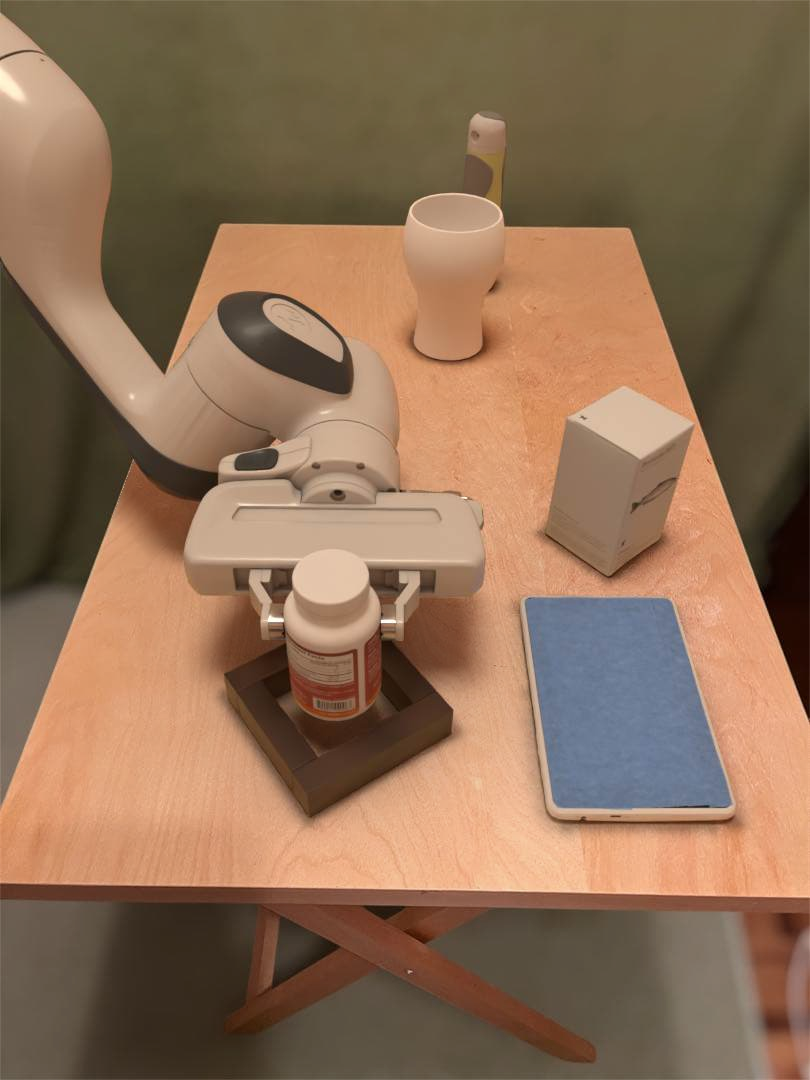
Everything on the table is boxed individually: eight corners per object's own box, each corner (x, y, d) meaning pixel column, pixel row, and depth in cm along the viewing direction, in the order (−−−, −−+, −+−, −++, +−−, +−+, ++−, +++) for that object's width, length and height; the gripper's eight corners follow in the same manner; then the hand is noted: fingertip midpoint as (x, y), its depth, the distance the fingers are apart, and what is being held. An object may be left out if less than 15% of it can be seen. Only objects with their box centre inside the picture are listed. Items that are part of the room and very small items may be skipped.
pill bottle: (345, 639, 66) (342, 525, 58) (399, 693, 62) (403, 580, 55) (273, 681, 63) (259, 568, 55) (325, 741, 59) (318, 628, 52)
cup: (410, 313, 107) (414, 185, 96) (501, 324, 105) (514, 196, 95) (391, 361, 99) (393, 228, 89) (488, 374, 98) (501, 240, 87)
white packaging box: (608, 580, 76) (639, 460, 67) (542, 533, 80) (563, 414, 71) (663, 541, 79) (698, 422, 71) (597, 498, 83) (623, 380, 75)
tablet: (737, 823, 60) (742, 813, 59) (545, 823, 59) (548, 812, 58) (671, 605, 74) (674, 594, 73) (516, 604, 73) (517, 592, 73)
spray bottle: (447, 283, 112) (457, 112, 99) (474, 271, 115) (488, 103, 101) (475, 298, 110) (489, 125, 96) (503, 285, 112) (520, 115, 98)
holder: (309, 817, 59) (307, 794, 57) (227, 697, 66) (223, 673, 64) (451, 733, 64) (453, 709, 62) (361, 629, 71) (361, 605, 69)
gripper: (477, 524, 70) (491, 667, 60) (209, 522, 69) (178, 664, 59) (484, 460, 66) (501, 601, 55) (198, 456, 65) (163, 598, 55)
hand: (331, 634), depth 57 cm, fingers closed on pill bottle, 6 cm apart
